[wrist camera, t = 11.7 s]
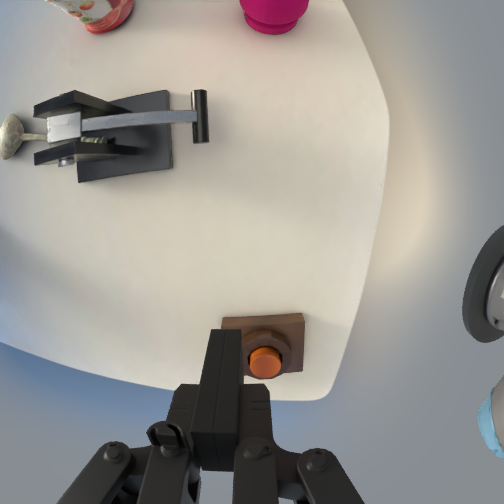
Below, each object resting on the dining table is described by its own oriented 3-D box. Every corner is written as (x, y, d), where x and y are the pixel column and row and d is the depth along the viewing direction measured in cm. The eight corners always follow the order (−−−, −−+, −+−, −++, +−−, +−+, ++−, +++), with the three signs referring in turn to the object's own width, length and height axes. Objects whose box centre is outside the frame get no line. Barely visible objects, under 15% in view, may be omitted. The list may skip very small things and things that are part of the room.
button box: (301, 312, 36) (307, 329, 32) (300, 361, 38) (304, 380, 35) (222, 317, 36) (219, 334, 32) (228, 366, 39) (226, 385, 35)
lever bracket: (169, 92, 28) (120, 51, 15) (173, 168, 31) (122, 173, 18) (79, 112, 28) (6, 98, 15) (83, 182, 31) (8, 198, 18)
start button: (279, 345, 33) (281, 354, 32) (279, 368, 34) (281, 377, 33) (249, 347, 33) (249, 356, 32) (250, 370, 34) (250, 379, 33)
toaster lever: (201, 94, 25) (211, 88, 23) (203, 144, 26) (214, 141, 24) (50, 107, 18) (47, 100, 16) (52, 163, 19) (48, 161, 17)
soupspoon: (8, 114, 28) (3, 156, 30) (-8, 114, 24) (-13, 159, 27) (114, 116, 27) (105, 173, 29) (97, 114, 24) (87, 176, 26)
